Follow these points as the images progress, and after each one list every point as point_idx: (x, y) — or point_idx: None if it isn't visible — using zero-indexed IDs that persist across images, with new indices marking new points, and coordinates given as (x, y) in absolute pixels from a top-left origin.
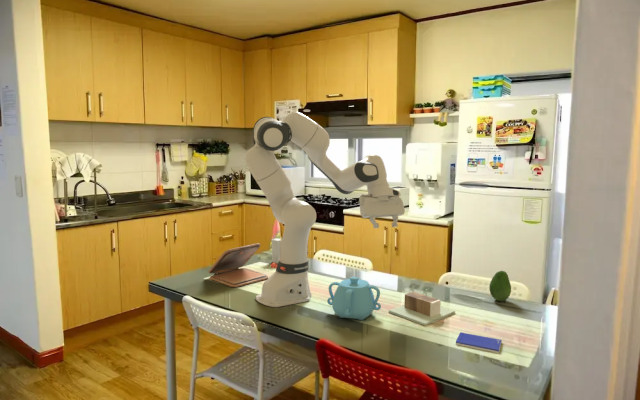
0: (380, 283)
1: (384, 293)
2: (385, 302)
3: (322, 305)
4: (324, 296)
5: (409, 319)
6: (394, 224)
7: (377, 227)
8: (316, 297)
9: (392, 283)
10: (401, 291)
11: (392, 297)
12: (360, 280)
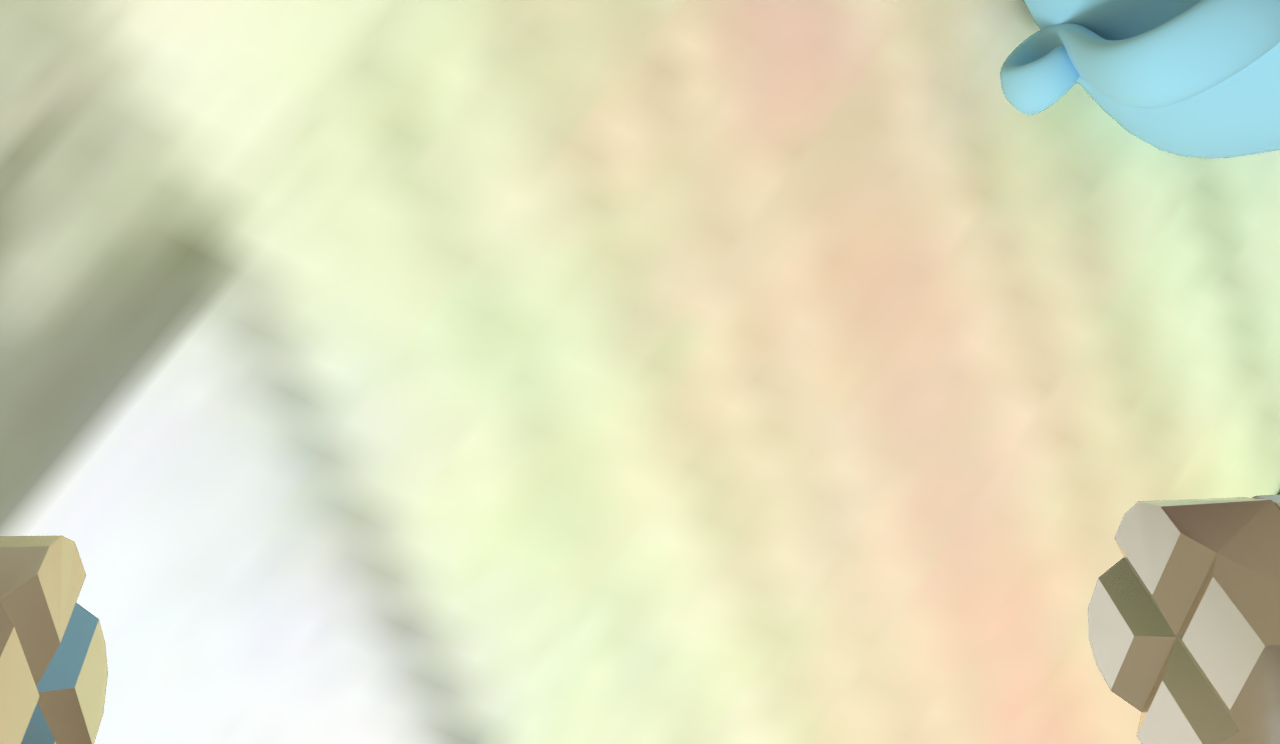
0: (236, 633)
1: (446, 282)
2: (649, 6)
3: (1269, 297)
4: (1096, 523)
5: None
6: (10, 631)
7: (1219, 500)
8: None
9: None
10: (182, 234)
11: (452, 106)
12: None
